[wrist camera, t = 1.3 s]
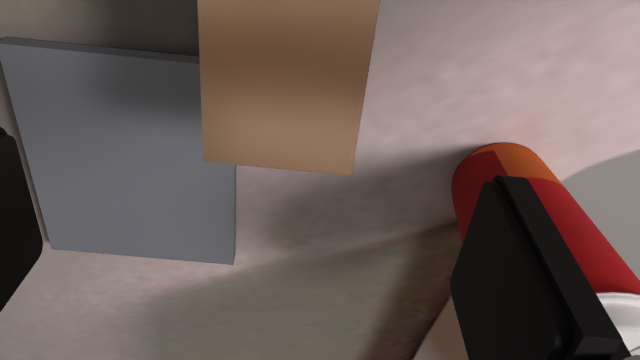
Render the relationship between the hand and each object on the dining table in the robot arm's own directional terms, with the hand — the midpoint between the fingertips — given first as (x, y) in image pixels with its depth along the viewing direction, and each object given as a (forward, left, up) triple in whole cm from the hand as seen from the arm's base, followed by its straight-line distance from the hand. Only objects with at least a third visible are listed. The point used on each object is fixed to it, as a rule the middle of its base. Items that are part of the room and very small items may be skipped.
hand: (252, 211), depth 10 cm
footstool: (0, 0, -17) cm, 17 cm away
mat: (+11, -9, -17) cm, 22 cm away
